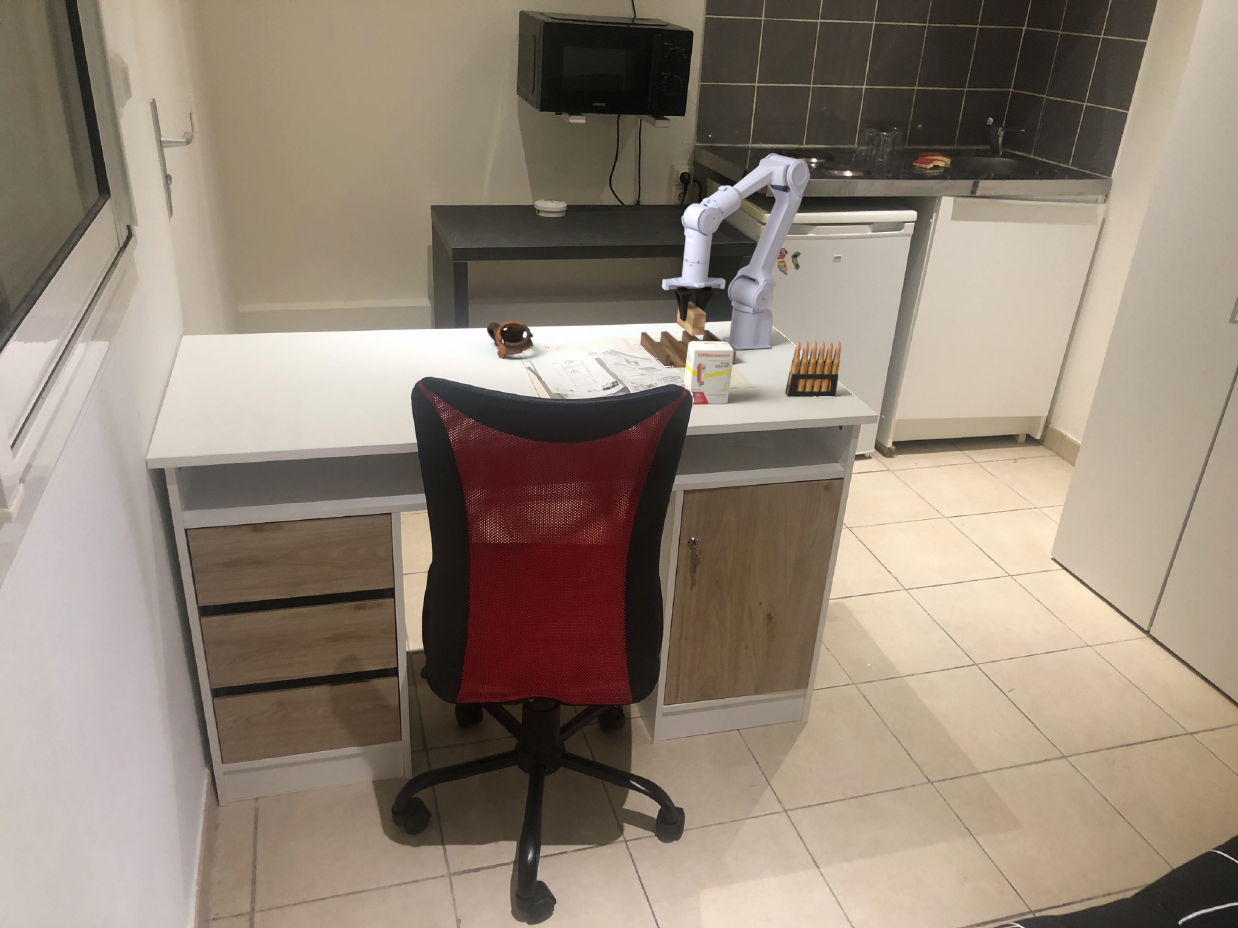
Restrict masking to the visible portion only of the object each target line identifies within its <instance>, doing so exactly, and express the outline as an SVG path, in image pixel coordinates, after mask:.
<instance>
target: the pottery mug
mask: <svg viewBox="0 0 1238 928" xmlns="http://www.w3.org/2000/svg"><path fill="white" fill-rule="evenodd" d="M486 332H487V334H488V335H489V337H490V338H491V339H492V340H493V342H494V346H495V347H498V349H497V351H496V353H497V356H498V357H499V358H500V359H504V358H505V357H508V356H513V355H517V354H522V353H524V352H525V351H526V350H528V349H529V348H530V347H534V346H535V345H534V342H533V340H532V339H531V338H533V337H534V335H533V333H532V332H531V329H530V328H529V327H528V326H527V325H526V324H525V323H523V322H521V321H517V320H515V321H514V320H509V321H505V322H504V323H501V324H499V323H498V322H493V321H492V322H490V323H488V325H487V327H486ZM524 333H526V336H525V337H524Z"/></svg>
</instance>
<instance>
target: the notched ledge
mask: <svg viewBox="0 0 1238 928" xmlns="http://www.w3.org/2000/svg"><path fill="white" fill-rule="evenodd" d="M681 333H682V335H681V340H678V339H676V338H675V337H674V336H673V335H672V334H671V333H670V332H669V331H665V330H664V331H661V332H660V338H659V339H660V340H659V341H656V340H655V339H653V338H652V337H651V336H650V335H649V334H648V333H647V332H646V331H642V332H641V333H640V346H641V348H643V347H644V348H643V349H644V350H645V351H647V352H648V353H649V354H650V355H651V356H652V355H653V356H654V357H655V358H657V360H659V361H660V362H661V363H662V364H663V365H664V366H671V367H672V366H673V367H675V368H686V360H687V352H688V344H689V342H691V341H714V342H715V341H717V342H724V340H722V339H720V338H719V337H718V336H716V335H715V334H713V332H711V331H710V330H709V329H704V335H702V339H699V338H698V337H697V335H690V334H689V333H688V332H687V331H686V330H682V332H681ZM736 354H737V351H736V350H734V356H733V364H732V366H733V365H735V361H736ZM653 356H652V357H653ZM654 357H653V358H654ZM655 358H654V359H655ZM657 360H656V361H657Z"/></svg>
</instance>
